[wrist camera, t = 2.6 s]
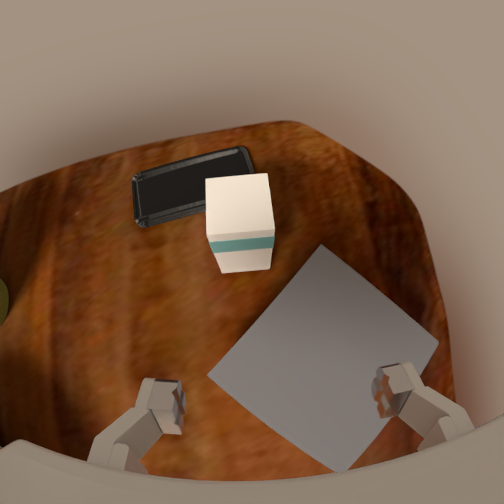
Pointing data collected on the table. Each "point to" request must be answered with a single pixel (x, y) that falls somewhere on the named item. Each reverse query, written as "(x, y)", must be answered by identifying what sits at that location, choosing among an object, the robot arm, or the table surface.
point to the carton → (240, 222)
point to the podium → (322, 360)
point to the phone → (183, 185)
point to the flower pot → (3, 301)
